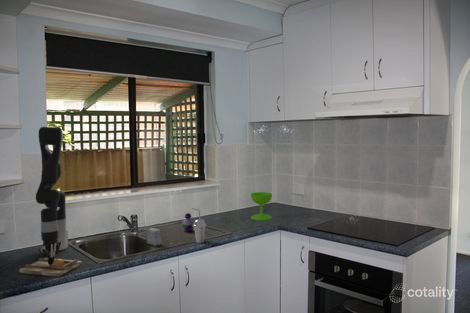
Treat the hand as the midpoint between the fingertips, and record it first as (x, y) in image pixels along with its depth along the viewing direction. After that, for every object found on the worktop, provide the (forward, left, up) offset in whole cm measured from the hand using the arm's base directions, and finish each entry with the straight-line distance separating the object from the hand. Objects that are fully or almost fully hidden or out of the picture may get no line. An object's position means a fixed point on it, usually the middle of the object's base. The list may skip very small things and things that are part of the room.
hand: (51, 264), depth 192 cm
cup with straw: (-58, +56, -2) cm, 81 cm away
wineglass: (-126, +81, -2) cm, 150 cm away
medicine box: (-48, +31, -2) cm, 57 cm away
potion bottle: (-78, +41, -2) cm, 88 cm away
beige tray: (0, 0, -2) cm, 2 cm away
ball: (0, +4, 0) cm, 4 cm away
